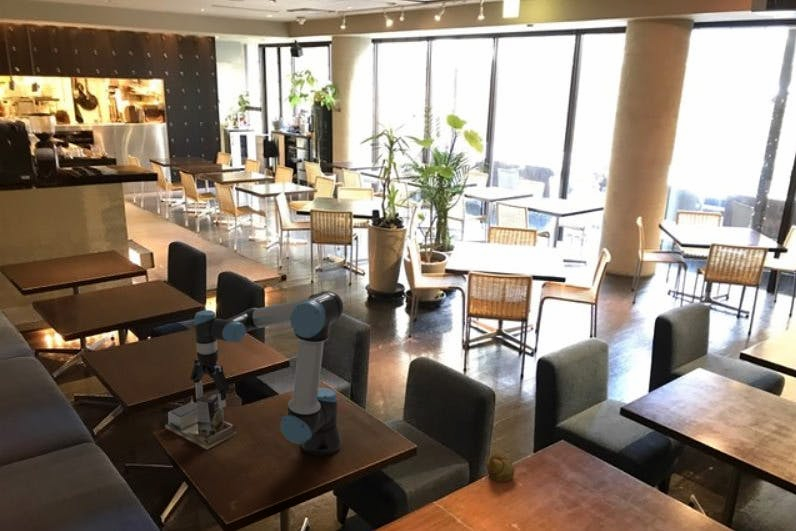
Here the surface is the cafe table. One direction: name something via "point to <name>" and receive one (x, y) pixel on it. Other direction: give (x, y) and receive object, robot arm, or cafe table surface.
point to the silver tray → (206, 443)
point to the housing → (183, 416)
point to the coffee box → (209, 415)
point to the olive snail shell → (500, 467)
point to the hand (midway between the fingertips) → (211, 402)
